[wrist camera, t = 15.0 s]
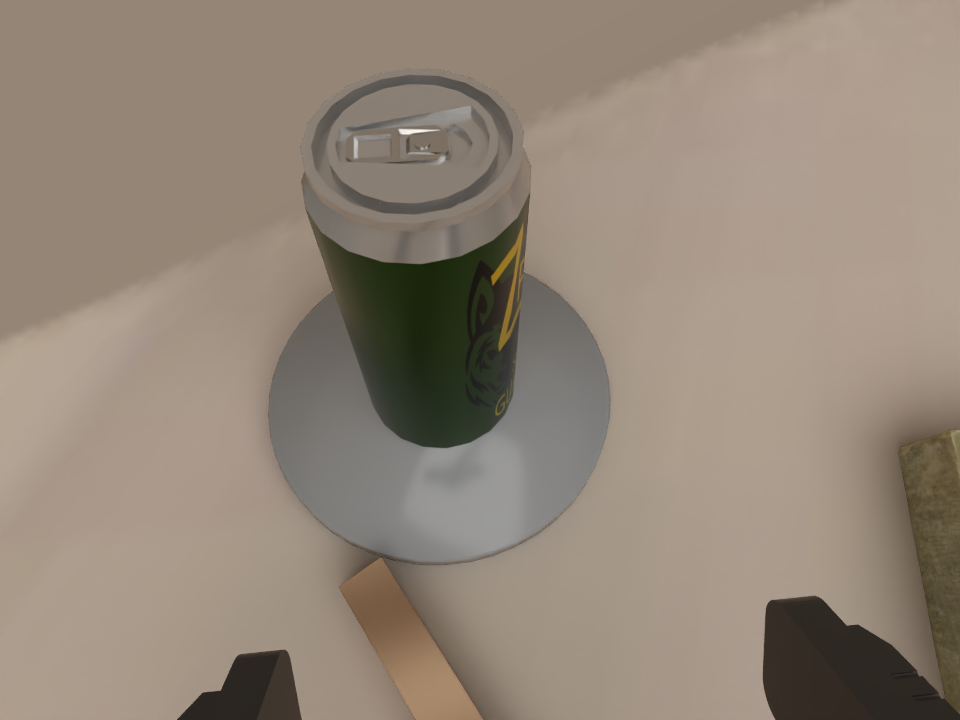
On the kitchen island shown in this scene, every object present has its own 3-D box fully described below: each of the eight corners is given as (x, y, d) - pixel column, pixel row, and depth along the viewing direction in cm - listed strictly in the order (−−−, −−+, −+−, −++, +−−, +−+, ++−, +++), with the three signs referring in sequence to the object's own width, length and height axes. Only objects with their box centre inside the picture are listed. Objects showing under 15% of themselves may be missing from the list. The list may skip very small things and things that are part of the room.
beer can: (373, 462, 23) (282, 242, 13) (372, 336, 26) (296, 69, 15) (521, 449, 23) (551, 222, 13) (505, 326, 26) (519, 55, 16)
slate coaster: (512, 229, 30) (513, 217, 29) (673, 469, 24) (678, 461, 23) (236, 332, 27) (229, 321, 26) (339, 633, 21) (334, 630, 20)
